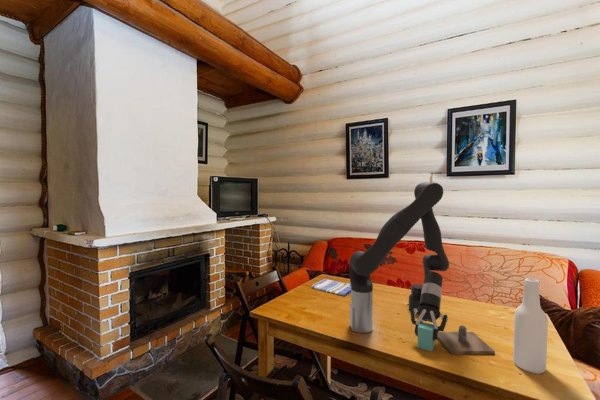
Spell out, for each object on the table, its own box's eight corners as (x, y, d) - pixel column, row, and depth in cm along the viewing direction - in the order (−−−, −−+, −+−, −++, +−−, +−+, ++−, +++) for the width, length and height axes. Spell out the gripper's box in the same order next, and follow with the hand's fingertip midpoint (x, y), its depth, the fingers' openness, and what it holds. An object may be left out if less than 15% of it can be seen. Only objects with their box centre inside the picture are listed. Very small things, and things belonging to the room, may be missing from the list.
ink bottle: (425, 306, 147) (425, 283, 146) (431, 314, 138) (431, 289, 138) (405, 306, 148) (405, 283, 147) (410, 313, 139) (410, 289, 139)
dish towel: (325, 281, 188) (325, 277, 188) (358, 289, 174) (358, 284, 174) (310, 289, 175) (310, 284, 175) (344, 297, 160) (344, 293, 160)
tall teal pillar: (417, 347, 110) (417, 327, 109) (420, 341, 114) (420, 321, 114) (432, 351, 107) (432, 330, 106) (434, 345, 111) (434, 325, 111)
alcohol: (550, 377, 92) (554, 285, 91) (517, 371, 95) (520, 282, 94) (539, 361, 100) (542, 277, 99) (509, 356, 104) (512, 274, 102)
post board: (450, 354, 105) (451, 334, 105) (433, 334, 119) (434, 317, 119) (494, 354, 105) (495, 335, 105) (472, 334, 119) (472, 317, 119)
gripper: (411, 289, 120) (404, 329, 110) (449, 295, 112) (445, 339, 102) (413, 297, 124) (407, 336, 115) (450, 304, 117) (447, 347, 107)
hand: (425, 337), depth 109 cm, fingers closed on tall teal pillar, 5 cm apart
